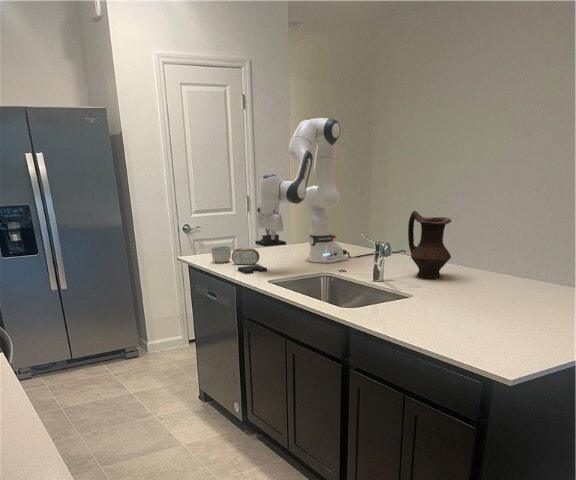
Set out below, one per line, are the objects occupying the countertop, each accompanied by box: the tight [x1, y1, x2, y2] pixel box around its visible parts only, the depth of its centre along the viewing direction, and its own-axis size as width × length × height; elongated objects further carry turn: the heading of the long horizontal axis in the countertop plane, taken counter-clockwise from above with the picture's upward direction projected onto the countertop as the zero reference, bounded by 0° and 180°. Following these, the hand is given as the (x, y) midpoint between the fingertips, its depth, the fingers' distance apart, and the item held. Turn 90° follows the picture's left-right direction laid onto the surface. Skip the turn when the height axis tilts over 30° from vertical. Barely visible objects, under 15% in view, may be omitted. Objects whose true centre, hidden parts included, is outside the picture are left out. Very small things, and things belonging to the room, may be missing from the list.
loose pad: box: [254, 233, 287, 247], centre depth 272 cm, size 12×13×4 cm
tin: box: [231, 248, 260, 266], centre depth 297 cm, size 15×3×8 cm, turn 84°
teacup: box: [210, 245, 232, 264], centre depth 306 cm, size 14×11×8 cm
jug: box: [407, 210, 452, 280], centre depth 258 cm, size 21×18×30 cm
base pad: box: [237, 264, 268, 275], centre depth 283 cm, size 12×10×2 cm
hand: (270, 239), depth 270 cm, fingers closed on loose pad, 2 cm apart
